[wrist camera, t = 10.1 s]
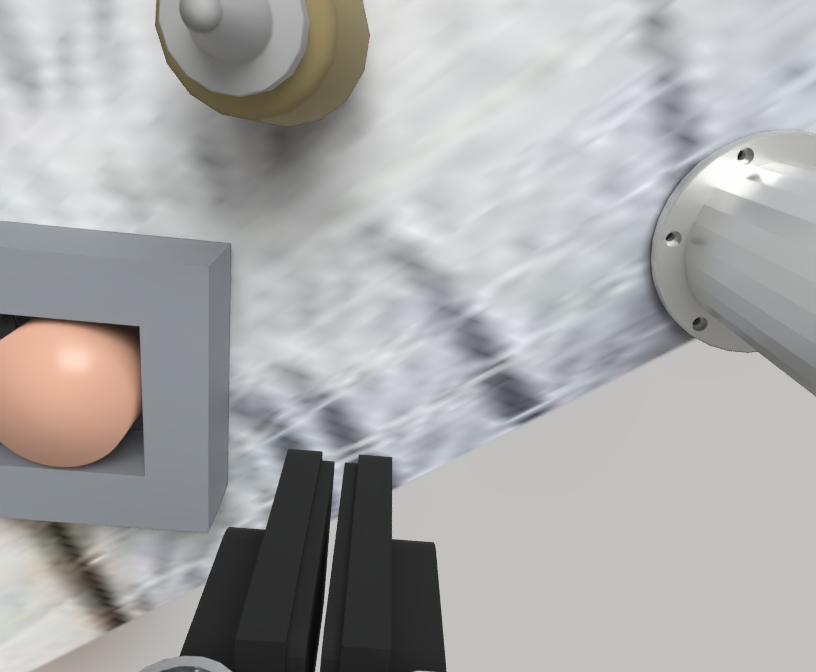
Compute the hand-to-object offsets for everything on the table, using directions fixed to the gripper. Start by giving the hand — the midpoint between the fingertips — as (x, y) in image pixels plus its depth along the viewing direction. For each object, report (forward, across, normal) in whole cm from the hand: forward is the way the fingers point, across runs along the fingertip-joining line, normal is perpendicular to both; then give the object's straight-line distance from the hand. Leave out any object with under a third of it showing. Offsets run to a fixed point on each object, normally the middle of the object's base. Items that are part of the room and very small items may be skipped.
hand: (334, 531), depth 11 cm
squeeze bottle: (+29, +5, -8) cm, 31 cm away
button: (+29, +16, +11) cm, 35 cm away
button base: (+29, +16, +11) cm, 35 cm away
